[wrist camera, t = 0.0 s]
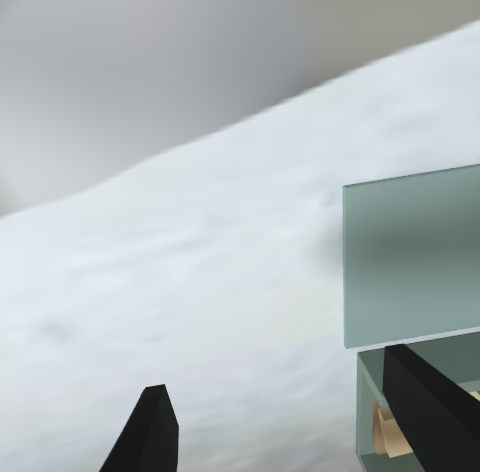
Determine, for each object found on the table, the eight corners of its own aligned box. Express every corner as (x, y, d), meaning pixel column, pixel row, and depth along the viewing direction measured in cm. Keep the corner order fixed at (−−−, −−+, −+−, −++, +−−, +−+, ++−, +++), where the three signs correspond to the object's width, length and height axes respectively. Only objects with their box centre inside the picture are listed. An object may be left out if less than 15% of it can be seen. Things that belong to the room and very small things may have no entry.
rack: (475, 432, 29) (511, 478, 26) (356, 453, 29) (375, 502, 26) (501, 328, 24) (550, 367, 21) (357, 352, 24) (382, 397, 21)
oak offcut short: (414, 436, 26) (421, 449, 25) (383, 444, 26) (389, 457, 25) (411, 399, 24) (418, 412, 23) (377, 408, 24) (384, 421, 23)
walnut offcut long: (406, 436, 27) (413, 448, 26) (371, 442, 27) (377, 454, 26) (412, 386, 25) (420, 397, 24) (374, 392, 25) (380, 404, 24)
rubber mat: (504, 317, 24) (509, 321, 23) (344, 344, 24) (346, 348, 23) (545, 153, 19) (552, 154, 18) (342, 186, 19) (345, 188, 18)
